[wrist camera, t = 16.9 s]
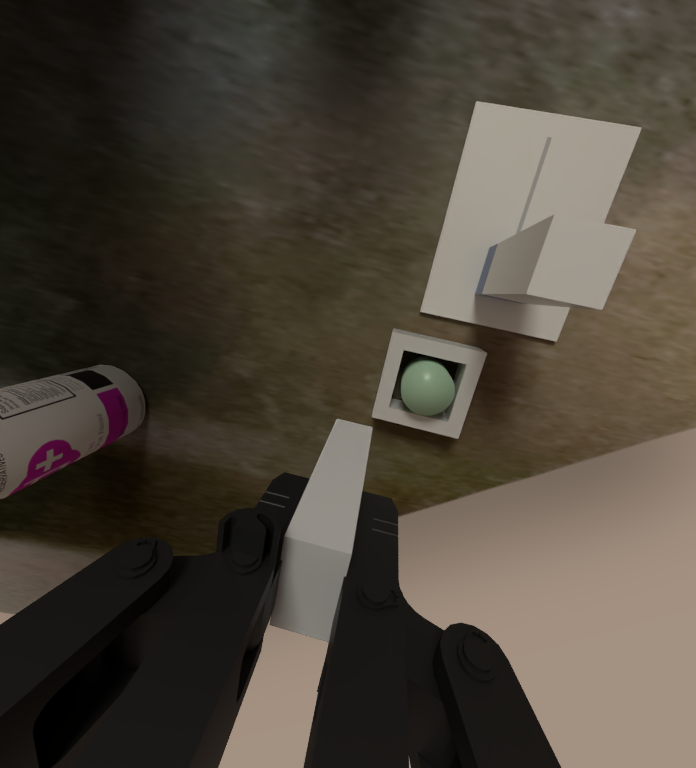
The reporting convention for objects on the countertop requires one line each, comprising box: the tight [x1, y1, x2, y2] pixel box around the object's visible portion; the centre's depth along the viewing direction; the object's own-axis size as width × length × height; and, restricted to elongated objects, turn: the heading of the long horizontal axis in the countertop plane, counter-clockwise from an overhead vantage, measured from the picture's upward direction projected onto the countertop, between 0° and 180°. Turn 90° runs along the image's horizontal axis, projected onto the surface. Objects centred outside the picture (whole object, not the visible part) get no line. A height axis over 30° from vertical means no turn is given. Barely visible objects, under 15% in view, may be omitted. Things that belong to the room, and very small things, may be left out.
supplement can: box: [0, 365, 145, 499], centre depth 30 cm, size 8×8×15 cm
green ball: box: [401, 357, 455, 416], centre depth 29 cm, size 4×4×4 cm
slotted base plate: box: [420, 101, 642, 342], centre depth 27 cm, size 16×12×1 cm
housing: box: [372, 328, 487, 439], centre depth 30 cm, size 8×8×3 cm
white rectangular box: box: [475, 214, 636, 310], centre depth 22 cm, size 4×4×12 cm
